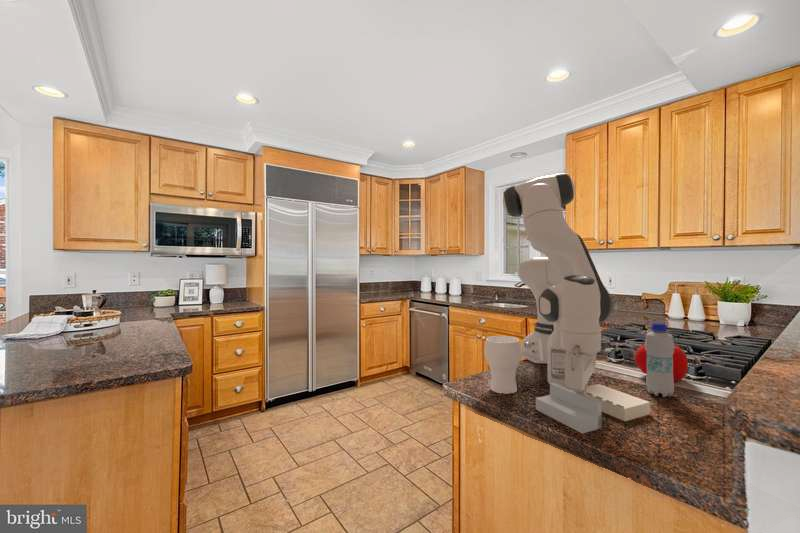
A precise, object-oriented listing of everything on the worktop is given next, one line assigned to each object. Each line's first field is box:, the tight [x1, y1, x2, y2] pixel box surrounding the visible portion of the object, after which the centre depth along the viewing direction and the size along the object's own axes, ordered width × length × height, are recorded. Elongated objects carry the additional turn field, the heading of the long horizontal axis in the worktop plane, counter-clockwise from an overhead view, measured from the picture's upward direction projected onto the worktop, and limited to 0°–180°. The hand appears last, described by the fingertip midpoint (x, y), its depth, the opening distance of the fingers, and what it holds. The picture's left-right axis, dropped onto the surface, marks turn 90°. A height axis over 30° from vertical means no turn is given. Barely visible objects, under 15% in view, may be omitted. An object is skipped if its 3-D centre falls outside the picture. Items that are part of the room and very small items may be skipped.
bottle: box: [644, 322, 675, 398], centre depth 99 cm, size 7×7×20 cm
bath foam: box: [546, 323, 567, 388], centre depth 109 cm, size 7×7×20 cm
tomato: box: [634, 343, 689, 382], centre depth 111 cm, size 12×14×11 cm
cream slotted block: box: [575, 383, 651, 422], centre depth 91 cm, size 14×9×3 cm, turn 22°
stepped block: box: [535, 383, 603, 434], centre depth 86 cm, size 14×6×6 cm, turn 22°
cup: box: [484, 335, 522, 395], centre depth 106 cm, size 11×11×15 cm
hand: (581, 397), depth 87 cm, fingers closed
